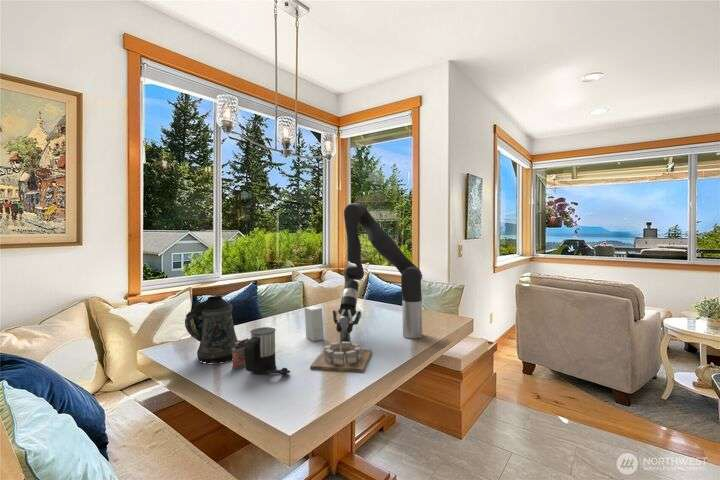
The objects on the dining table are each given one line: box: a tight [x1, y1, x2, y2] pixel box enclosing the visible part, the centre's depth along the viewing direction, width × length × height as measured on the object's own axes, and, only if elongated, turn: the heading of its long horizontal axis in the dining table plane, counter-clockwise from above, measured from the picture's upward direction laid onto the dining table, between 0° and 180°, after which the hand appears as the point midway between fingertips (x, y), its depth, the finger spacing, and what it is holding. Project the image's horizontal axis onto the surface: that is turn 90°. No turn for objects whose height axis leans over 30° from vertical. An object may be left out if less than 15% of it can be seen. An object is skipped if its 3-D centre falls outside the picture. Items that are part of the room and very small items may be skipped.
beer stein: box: [184, 295, 238, 364], centre depth 139 cm, size 16×19×25 cm
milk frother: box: [244, 326, 291, 376], centre depth 124 cm, size 14×16×15 cm
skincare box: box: [304, 305, 325, 342], centre depth 163 cm, size 8×6×15 cm
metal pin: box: [339, 315, 351, 344], centre depth 156 cm, size 5×5×12 cm
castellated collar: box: [309, 341, 373, 373], centre depth 134 cm, size 20×20×5 cm
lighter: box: [231, 337, 249, 371], centre depth 130 cm, size 8×3×10 cm, turn 148°
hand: (344, 331), depth 154 cm, fingers closed on metal pin, 4 cm apart
